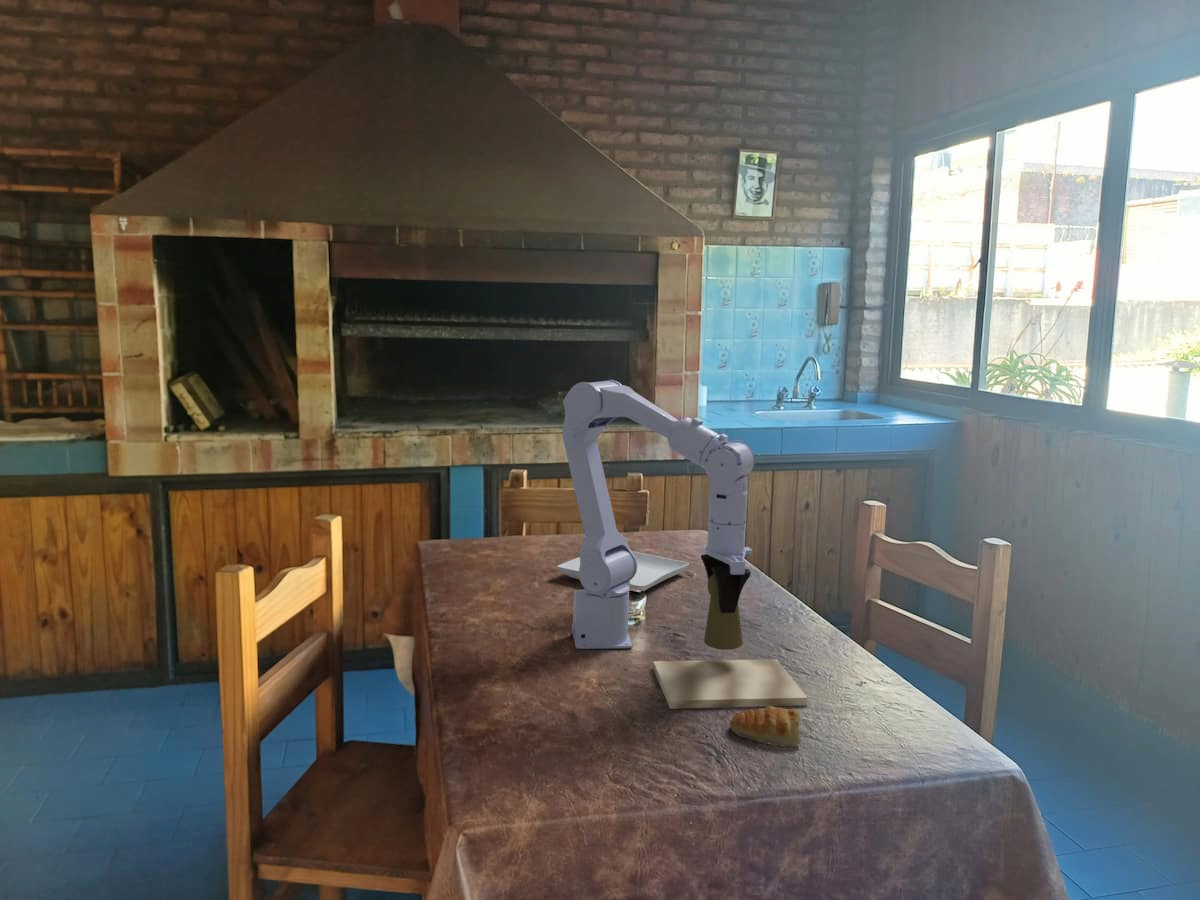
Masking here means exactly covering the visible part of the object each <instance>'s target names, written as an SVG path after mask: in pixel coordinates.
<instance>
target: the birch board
mask: <svg viewBox="0 0 1200 900" xmlns="http://www.w3.org/2000/svg"><path fill="white" fill-rule="evenodd" d="M652 664H653V665H652V669H653V672H654V674H655V676H656V679H657V681H658V684H659V686H660V689H661V690H662V693H663V695H664V698H665V700H666V703H667V706H668V707H669V709H670V710H672V709H673V710H674V709H709V708H710V709H711V708H713V709H715V708H752V707H753V708H755V707H758V708H759V707H761V708H762V707H764V708H765V707H769V706H773V707H794V706H795V707H797V706H798V707H799V706H808V696H807V695H806V694H805V692H804V691H803V690H802V689H801V688H800V686H799V685H798V684H797V682H796V680H794V679H793V678H792V676H791V675H790V674H789V672H787V670H786V668H784V666H783V665H782V664H781V662H780V661H779V660H778V658H774V659H773V658H771V659H769V658H767V659H765V658H763V659H762V658H761V659H760V658H759V659H717V660H716V659H714V660H713V659H709V660H702V659H701V660H655V661H653V662H652Z"/></svg>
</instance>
